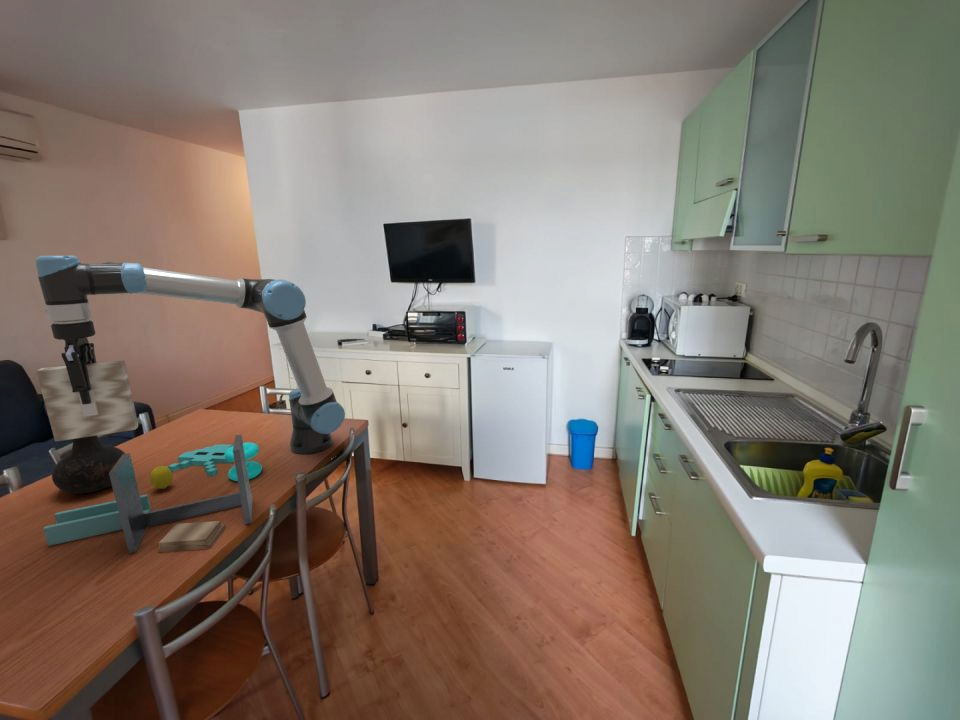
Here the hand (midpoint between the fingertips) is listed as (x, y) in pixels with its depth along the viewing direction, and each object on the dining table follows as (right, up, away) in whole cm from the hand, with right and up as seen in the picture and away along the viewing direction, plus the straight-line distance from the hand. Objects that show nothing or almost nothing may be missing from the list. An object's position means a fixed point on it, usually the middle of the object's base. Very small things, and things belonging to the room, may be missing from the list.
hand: (93, 412), depth 109 cm
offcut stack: (+24, -34, +2) cm, 41 cm away
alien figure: (0, -24, +45) cm, 51 cm away
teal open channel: (-5, -32, +8) cm, 33 cm away
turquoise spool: (+20, -25, +34) cm, 47 cm away
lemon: (-2, -28, +27) cm, 38 cm away
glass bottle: (-25, -27, +29) cm, 47 cm away
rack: (+21, -32, +8) cm, 39 cm away
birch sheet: (0, -5, +1) cm, 6 cm away
